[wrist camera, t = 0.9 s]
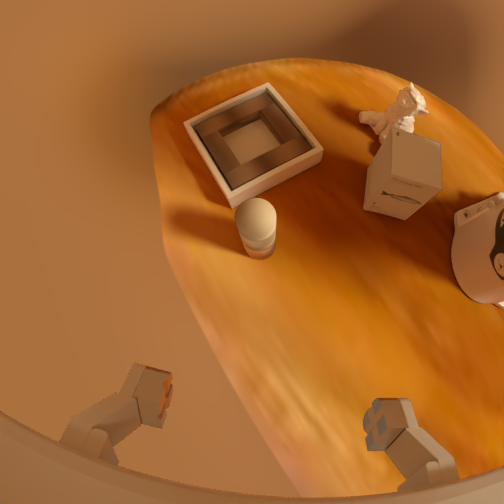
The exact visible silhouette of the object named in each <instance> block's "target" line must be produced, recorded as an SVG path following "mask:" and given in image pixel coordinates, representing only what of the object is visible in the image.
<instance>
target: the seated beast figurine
mask: <svg viewBox="0 0 504 504" xmlns="http://www.w3.org/2000/svg"><path fill="white" fill-rule="evenodd" d="M396 101H397V102H394V103H393V104H390V105H389V106H387V107H386V111H385V113H380V112H375V111H366V112H365V111H361V112H360V113H359V119H360V121H359V122H360V123H363V124H368V125H370V126H371V128H372V129H373V130H374V132H375V134H376V135H379V139H378V140H380V141H379V142H380V143H381V144H382V143H383V141H384V139H385V138H386V136H387V134H388V132H389V130H390V129H391V127H394V128H397V129H400V130H403V131H407V132H410V133H413V131H414V127H413V126H414V124H413V122H414V121H415V119H414V116H417V115H426V114H428V113H429V112H428V111H427V110H425V105H426V102H425V100H424V98H423V96H422V95H421V94H420V92H419V91H418V90H417V89H416V88H414V85H413V83H412V82H411V84H410V87H407V88H404V89H403V90H400V91H399V94H398V96H397V99H396Z"/></svg>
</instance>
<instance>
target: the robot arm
mask: <svg viewBox="0 0 504 504" xmlns="http://www.w3.org/2000/svg"><path fill="white" fill-rule="evenodd" d="M464 214H465V215H466V217H465V215H464ZM454 226H455V234H454V238H453V242H452V249H451V259H452V266H453V270H454V274H455V277H456V279H457V281H458V283H459V285H460V287H461V288H462V290H463V291H464V292H465V293H466V295H467V296H469V297H470V298H471V299H473V300H474V301H477V302H479V303H493V304H495V305H496V306H498V307H500V308H504V192H501V193H499V194H497V195H495V196H493V197H490V198H488V199H485V200H483V201H481V202H478V203H476V204H473V205H471V206H468V207H466V208H464V209H461V210H459V211H457V212H455V214H454ZM171 381H172V373H171V372H168V371H164V370H160V369H156V368H153V367H149V366H145V365H142V364H138V363H134V364H133V365H132V367H131V369H130V372H129V373H128V375H127V378H126V380H125V382H124V384H123V386H122V388H121V391H120V392H119V393H117V392H115V393H114V394H112V395H110V396H108V397H107V398H105V399H103V400H101V401H100V402H98V403H96V404H95V405H93V406H91V407H89V408H87V409H86V410H84V411H82V412H80V413H78V414H77V415H75V416H73V417H72V418H71V419H70V421H69V423H68V425H67V428H66V429H65V431H64V433H63V435H62V437H61V439H60V441H59V442H58V441H55V440H53V439H51V438H49V437H47V436H45V435H43V434H41V433H39V432H37V431H35V430H33V429H31V428H29V427H27V426H26V425H24V424H22V423H20V422H18V421H17V420H15V419H13V418H11V417H10V416H8V415H6V414H5V413H3V412H1V411H0V504H504V466H501V467H498V468H495V469H492V470H489V471H486V472H483V473H480V474H477V475H473V476H470V477H466V478H463V479H460V478H459V475H458V471H457V468H456V465H455V461H454V458H453V457H452V456H451V455H450V454H449V453H448V452H447V451H446V450H445V449H444V448H443V447H442V446H441V445H440V444H439V443H437V442H436V441H435V440H434V439H433V438H432V437H431V436H430V435H429V434H428V433H427V432H426V431H425V430H424V429H423V428H422V427H418V424H417V420H416V417H415V414H414V411H413V408H412V405H411V402H410V400H409V399H408V398H376V399H375V400H374V401H373V402H372V406H373V407H371V408H369V409H368V410H367V411H366V413H365V415H364V419H363V428H364V431H365V432H366V433H367V434H368V435H367V436H366V438H365V439H366V445H367V451H385V453H386V454H387V455H388V457H389V458H390V459H391V460H392V462H393V463H394V464H395V466H396V467H397V468H398V470H399V471H400V472H401V474H402V475H403V476H404V477H405V479H406V481H404V482H403V483H402V484H401V485H399V486H398V488H397V490H398V492H392V493H384V494H375V495H364V496H350V497H322V498H308V497H279V496H265V495H254V494H244V493H236V492H229V491H222V490H216V489H210V488H204V487H198V486H194V485H188V484H184V483H179V482H175V481H171V480H167V479H163V478H159V477H155V476H151V475H148V474H144V473H140V472H137V471H134V470H131V469H127V468H124V467H121V466H118V464H119V460H118V458H117V456H116V453H115V451H114V449H113V447H114V446H115V445H117V444H118V443H119V442H120V441H122V440H123V439H124V438H126V437H127V436H128V435H129V434H131V433H132V432H133V431H134V430H136V429H137V428H138V427H140V426H141V424H145V425H149V426H153V427H157V428H163V425H164V421H165V418H166V409H167V408H168V407H169V406H170V402H171V398H172V392H173V386H172V384H171Z"/></svg>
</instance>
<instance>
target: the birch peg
mask: <svg viewBox="0 0 504 504" xmlns="http://www.w3.org/2000/svg"><path fill="white" fill-rule="evenodd" d="M235 224H236V226H237V229H238V232H239V235H240V237H241V240H242V243H243V246H244V248H245V251H246V253H247V254H248V255H249V256H250V257H251V258H253V259H255V260H264V259H267V258H268V257H270V256H271V255H272V254H273V252H274V250H275V243H276V211H275V209H274V207H273V206H272V205H271V204H270V203H269V202H268V201H266V200H264V199H261V198H250V199H247V200H245V201H244V202H242V203H241V204H240V205H239V206H238V208H237V210H236V212H235Z"/></svg>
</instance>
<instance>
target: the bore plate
mask: <svg viewBox="0 0 504 504" xmlns="http://www.w3.org/2000/svg"><path fill="white" fill-rule="evenodd" d="M259 119H261V120H262V121H263V122H264V124H265V125H266V126H267V128H268V129H269V130H270V132H271V133H272V134H273V136H274V137H275V138H276V140H277V141H278V142H279V144H280V146H278V147H276V148H274V149H272V150H270V151H268V152H266V153H264V154H262V155H260V156H258V157H256V158H254V159H252V160H250V161H248V162H246V163H244V164H242V165H241V164H240V163H239V161H238V160H237V158H236V157H235V155H234V154H233V152H232V151H231V149H230V148H229V146H228V145H227V143H226V142H225V140H224V139H223V137H224V136H226V135H228V134H230V133H232V132H234V131H236V130H238V129H240V128H242V127H244V126H246V125H248V124H250V123H252V122H255V121H257V120H259ZM195 129H196V132H197V134H198V136H199V138H200V139H201V141H202V142H203V144H204V146H205V147H206V149H207V151H208V152H209V154H210V155H211V157H212V159H213V160H214V162H215V164H216V165H217V167H218V169H219V170H220V172H221V173H222V175H223V177H224V178H225V180H226V182H227V183H228V185H229V187H230V188H231V190H232V191H233V190H235V189H237V188H239V187H240V186H242V185H244V184H246V183H248V182H250V181H252V180H254V179H255V178H257V177H259V176H261V175H263V174H265V173H267V172H269V171H271V170H273V169H275V168H276V167H278V166H280V165H282V164H284V163H286V162H288V161H290V160H292V159H294V158H296V157H298V156H300V155H302V154H304V153H306V152H308V151H310V150H311V148H310V146H309V145H308V144H307V142H306V141H305V140H304V139H303V137H302V136H301V135H300V133H299V132H298V131H297V130H296V128H295V127H294V126H293V125H292V123H291V122H290V121H289V120H288V118H287V117H286V116H285V115H284V114H283V112H282V111H281V110H280V109H279V107H278V106H277V105H276V104H275V103H274V101H273V100H272V99H271V98H270V97H269V96H268V94H267V93H264V94H262V95H259V96H257V97H255V98H252V99H250V100H248V101H246V102H244V103H241V104H239V105H237V106H235V107H233V108H231V109H228V110H226V111H224V112H222V113H220V114H218V115H216V116H214V117H212V118H210V119H208V120H206V121H204V122H202V123H200V124H198V125H196V126H195Z"/></svg>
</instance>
